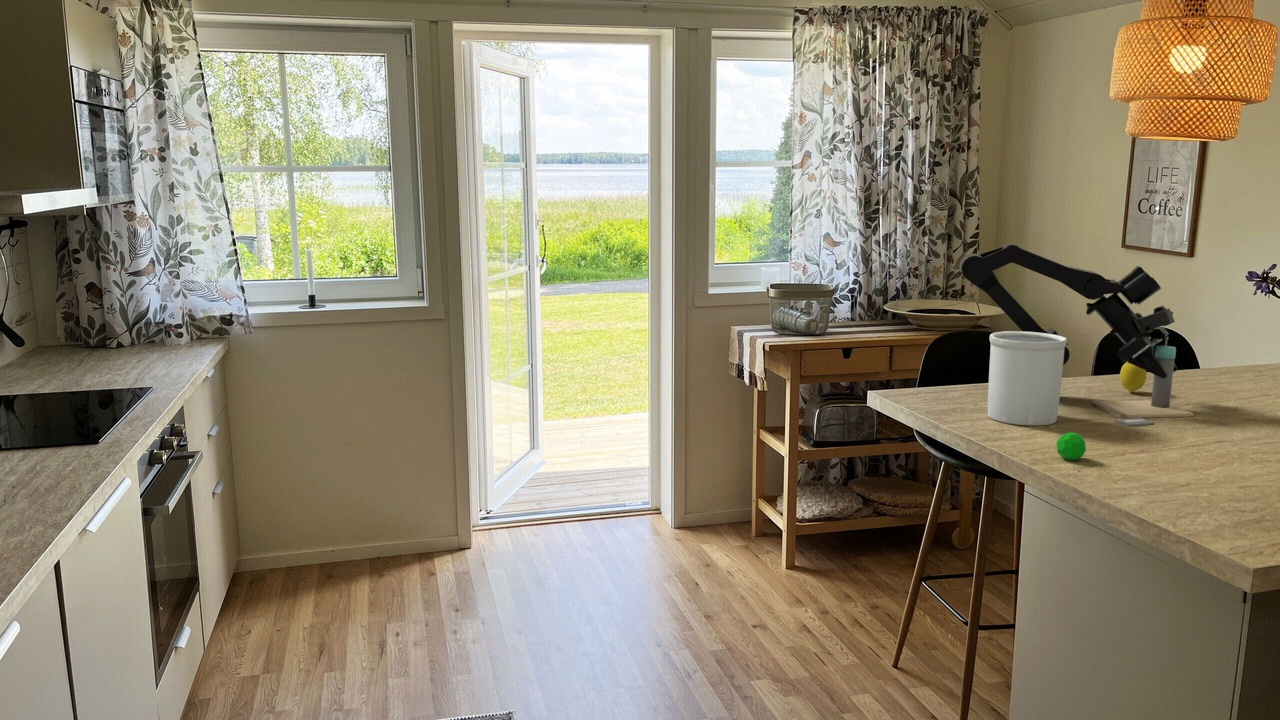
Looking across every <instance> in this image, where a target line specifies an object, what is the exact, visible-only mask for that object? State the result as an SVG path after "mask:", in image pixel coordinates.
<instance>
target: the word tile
mask: <svg viewBox="0 0 1280 720" xmlns="http://www.w3.org/2000/svg"><path fill="white" fill-rule="evenodd" d="M1114 422H1115V423H1118V424H1120V425H1124V426H1127V427H1135V426H1148V425H1149V426H1150V425H1151V426H1152V425H1154V424H1155V422H1154V421H1151V420H1148V419H1145V418H1144V417H1143V418H1116V419H1114Z"/></svg>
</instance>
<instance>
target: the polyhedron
mask: <svg viewBox="0 0 1280 720" xmlns="http://www.w3.org/2000/svg"><path fill="white" fill-rule="evenodd" d="M1055 442H1056V450H1057V454H1058V455H1059V456H1061V458H1063V459H1064V460H1066V459H1068V460H1067V461H1076V460H1077V459H1079V458H1081V457H1083V456H1084V455H1085V453H1086V451H1087V447H1086V446H1087V445H1086V440H1085V439H1084V438H1083V437H1082V436H1081V435H1080V434H1079V433H1077V432H1070V431H1069V432H1066V433H1064V434H1062V435H1060V436H1059V437H1058V439H1057V440H1056V441H1055Z"/></svg>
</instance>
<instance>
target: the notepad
mask: <svg viewBox="0 0 1280 720" xmlns="http://www.w3.org/2000/svg"><path fill="white" fill-rule="evenodd" d="M1151 400H1152V399H1150V400H1149V399H1148V400H1145V399H1144V400H1110V401H1109V400H1107V401H1105V400H1103V401H1102V400H1101V401H1099V400H1096V401H1095V400H1092V401H1091V400H1090V405H1091V406H1093V407H1095V408H1097V409H1099V410H1102V411H1104V412H1106V413H1108V414H1110V415H1112V416H1114V417H1117V419H1129V418H1143V419H1144V418H1175V417H1176V418H1177V417H1178V418H1179V417H1182V418H1183V417H1186V418H1187V417H1194V413H1193V412H1190V411H1188V410H1185V409H1183V408H1180V407H1178V406H1176V405H1173V404H1171V403H1170V407H1169V408H1158V407H1153V406H1151Z"/></svg>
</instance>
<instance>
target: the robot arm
mask: <svg viewBox="0 0 1280 720" xmlns="http://www.w3.org/2000/svg"><path fill="white" fill-rule="evenodd" d="M1009 264H1015V265H1018V266H1020V267H1022V268H1024V269H1027V270H1030V271H1032V272H1034V273H1037V274H1040V275H1042V276H1044V277H1048V278H1050V279H1053V280H1054V281H1056V282H1060V283H1061V284H1062V285H1065V286H1066V287H1067V288H1069V289H1071V290H1073V291H1074V292H1076V293H1078V294H1079V295H1081V296H1082V297H1084V298H1085V299H1088V300H1091V301H1092V300H1093V301H1094V302H1092V303H1091V302H1086V312H1085V314H1086V316H1087V317H1089V316H1091V315H1093V314H1094V313H1096V314H1097V315H1098V316H1099V317H1100V318H1101V319H1102V321H1103V322H1104V323H1105V324H1106V325H1107V326H1108V327H1109V328H1110V329H1111V330H1110V331H1109V333H1111V334H1112V335H1113V336H1114V335H1116V336H1117V337H1118V338H1119V339H1120V340H1121V342H1122V343H1123V345H1122V346H1121V347H1120V348H1119V349H1117V357H1118V358H1119V359H1120V360H1121V361H1122V363H1126V362H1128V361H1129V362H1128V363H1129V364H1133V365H1135V366H1137V367H1139V368H1142V369H1144V370H1146V372H1149V373H1151V374H1152V375H1154V374H1155V375H1157V376H1159V377H1161V378H1163V379H1164V378H1166V377H1167V376H1168V374H1167V373H1166V371H1165V370H1164V368H1163V367H1162V365H1161V364H1160V362H1159V361H1158V359H1157V358H1156V356H1155V353H1156V346H1168V340H1169V336H1168V335H1170V333H1169V332H1168V330H1167V329H1166V328H1165V327H1166V326H1169V325H1172V324H1173V323H1175V322H1176V320H1175V319H1174V316H1173V315H1174V312H1173V311H1172V310H1171V309H1170V308H1167V307H1165V306H1164V305H1161V306H1157V307H1155V308H1153V313H1150V314H1148V315H1145V316H1143V315H1142V314H1141V313H1140V312H1136V313H1135V312H1134V310H1132V309H1131V308H1130V306H1129V305H1127V303H1129V304H1130V305H1133V304H1135V305H1138V306H1140V305H1141V304H1143V302H1145V301H1146V300H1148V299H1149V298H1150V297H1152V296H1153V295H1155V294H1156V293H1157V292H1158V291H1160V290H1162V287H1161V286H1160V284H1159V283H1158V281H1156V279H1155V278H1154V277H1152V276H1150V274H1149V273H1147V272H1146V271H1145V270H1144V269H1143V267H1142V266H1140V265H1137V266H1135V267H1134V268H1133V269H1132V270H1131V271H1130V272H1129V273H1127V274H1126V275H1125V276H1124V277H1123V278H1121V279H1120V280H1118V281H1116V280H1115V279H1114V278H1113V279H1109V278H1105V277H1104V276H1102V275H1101V274H1100V273H1098V272H1096V271H1092V270H1087V269H1084V268H1078V267H1073V266H1067V265H1064V264H1062V263H1059V262H1057V261H1054V260H1051V259H1049V258H1047V257H1044V256H1042V255H1039V254H1037V253H1036V252H1035V253H1034V252H1033V251H1029V250H1027V249H1024V248H1021V247H1019V246H1018V245H1017V244H1015V243H1006V244H1004V246H1000V247H998V248H995V249H991V250H988V251H984V252H982V253H980V254H978V253H968V254H966V255H964V256H963V258H962V259H961V260H960V262H959V271H960V273H961V274H962V276H963V277H964V278H965V279H966V280H967V281H968V282H970V283H971V284H972V285H974V286H975V287H977V288H978V289H980V290H981V291H983V292H984V293H985V294H987V295H988V297H990V298H991V300H992V301H993V302H994V303H995V304H996V305H997V306H998V307H999V308H1000V309H1001V310H1002V311H1003V312H1004V313H1005V315H1007V317H1008V318H1009V319H1010V320H1011V321H1012V322H1013V323H1014V325H1016V326H1017V328H1019V329H1020V330H1021V331H1023V332H1037V333H1046V334H1053V335H1058V336H1060V335H1059V334H1058V332H1057V331H1056V329H1054V328H1053V327H1052V326H1050V327H1049V328H1048V329H1047V330H1046V329H1045V328H1044V327H1042V326H1041V325H1040V324H1039V323H1038V322H1037V321H1036V320H1035V319H1034V318H1033V317H1032V316H1031V315H1030V314H1029V313H1028V312H1027V310H1026V309H1025V308H1023V307H1022V305H1021V304H1020V303H1019V302H1018V301H1017V300H1016V299H1015V298H1014V297H1013V295H1012V294H1010V293H1009V291H1008V290H1007V289H1006V288H1005V287H1004V286H1003V285H1002V284H1001V283H1000V281H999V279H998V278H997V276H996V275H995V273H994V271H997V270H998V269H1000V268H1002V267H1004V266H1007V265H1009ZM1105 295H1109V296H1108V297H1106V296H1105ZM1120 295H1121V296H1122V297H1123V299H1125V300H1126V301H1127V303H1126V302H1125V301H1124V300H1123V299H1122V298H1121V297H1120ZM1068 345H1069V343H1068V342H1067V343H1066V346H1065V348H1064V360H1063V366H1064V365H1066V364H1067V363H1068V361H1069V359H1070V350H1069V348H1068V347H1067V346H1068ZM1130 358H1131V359H1130ZM1129 359H1130V360H1129ZM1176 371H1178V368H1177V364H1176V363H1175V362H1174V368H1173V373H1175V372H1176ZM1061 400H1062V398H1061V397H1060V399H1059V401H1061Z"/></svg>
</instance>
